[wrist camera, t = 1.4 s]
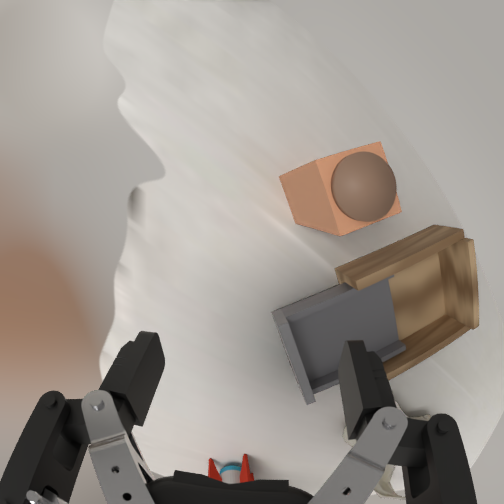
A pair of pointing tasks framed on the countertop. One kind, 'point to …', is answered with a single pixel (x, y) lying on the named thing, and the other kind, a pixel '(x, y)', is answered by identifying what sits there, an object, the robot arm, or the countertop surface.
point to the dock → (423, 290)
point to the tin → (343, 190)
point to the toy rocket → (231, 472)
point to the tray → (336, 331)
